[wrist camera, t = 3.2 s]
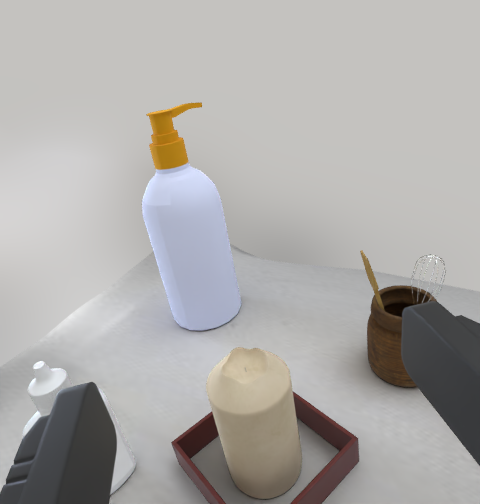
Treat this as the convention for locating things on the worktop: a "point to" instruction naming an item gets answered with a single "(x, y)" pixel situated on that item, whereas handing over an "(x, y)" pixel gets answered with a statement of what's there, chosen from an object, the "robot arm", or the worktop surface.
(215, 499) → the dark red square frame
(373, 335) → the utensil holder
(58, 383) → the eye dropper bottle
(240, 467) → the candle
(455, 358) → the robot arm
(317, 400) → the worktop surface
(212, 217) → the soap bottle
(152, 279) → the worktop surface
